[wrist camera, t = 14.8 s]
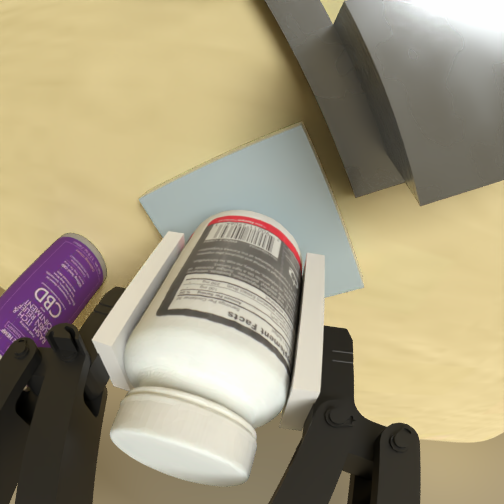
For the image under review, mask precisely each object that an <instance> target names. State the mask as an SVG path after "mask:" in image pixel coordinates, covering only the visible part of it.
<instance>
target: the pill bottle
mask: <svg viewBox="0 0 504 504" xmlns="http://www.w3.org/2000/svg"><path fill="white" fill-rule="evenodd" d="M302 269H303V264H302V256H301V252H300V250H299V247H298V244H297V242H296V241H295V239H294V237H293V236H292V235H291V234H290V233H289V232H288V231H287V230H286V229H285V228H284V227H283V226H282V225H281V224H280V223H278V222H277V221H275V220H274V219H272V218H270V217H268V216H265V215H263V214H260V213H256V212H253V211H247V210H230V211H224V212H220V213H218V214H215V215H213V216H211V217H209V218H208V219H206V220H205V221H204V222H202V223H201V224H200V225H199V226H198V227H197V229H196V230H195V231H194V233H193V234H192V235H191V237H190V238H189V240H188V242H187V243H186V245H185V246H184V248H183V249H182V251H181V253H180V254H179V256H178V257H177V259H176V260H175V262H174V264H173V265H172V267H171V269H170V270H169V272H168V274H167V275H166V277H165V279H164V280H163V282H162V284H161V285H160V287H159V289H158V290H157V292H156V294H155V295H154V297H153V298H152V300H151V302H150V303H149V305H148V307H147V308H146V310H145V311H144V313H143V315H142V316H141V318H140V319H139V321H138V323H137V324H136V326H135V328H134V329H133V331H132V333H131V335H130V337H129V339H128V341H127V344H126V347H125V352H124V367H125V371H126V374H127V376H128V379H129V381H130V382H131V384H132V386H133V387H134V389H132V390H130V391H129V392H128V393H127V394H126V396H125V398H124V399H123V400H122V401H121V403H120V408H119V410H118V413H117V415H116V418H115V420H114V422H113V425H112V427H111V431H110V437H111V439H112V441H113V442H114V444H115V445H116V446H117V447H118V448H120V449H121V450H122V451H123V452H125V453H126V454H128V455H129V456H130V457H132V458H134V459H135V460H137V461H139V462H141V463H142V464H144V465H147V466H149V467H151V468H153V469H155V470H158V471H160V472H162V473H165V474H168V475H170V476H173V477H177V478H179V479H183V480H186V481H190V482H194V483H200V484H206V485H212V486H226V487H228V486H237V485H241V484H243V483H245V482H246V481H247V480H248V478H249V476H250V472H251V468H252V464H253V461H254V456H255V452H256V449H257V444H256V438H257V436H256V432H255V430H254V429H255V428H258V427H260V426H263V425H264V424H266V423H268V422H270V421H271V420H272V419H274V418H275V417H276V416H277V415H278V414H279V413H280V412H281V411H282V409H283V407H284V406H285V403H286V401H287V398H288V393H289V388H290V383H291V375H292V367H293V358H294V349H295V343H296V333H297V325H298V314H299V307H300V298H301V284H302Z"/></svg>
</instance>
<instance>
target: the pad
mask: <svg viewBox="0 0 504 504" xmlns="http://www.w3.org/2000/svg"><path fill="white" fill-rule="evenodd" d="M139 201H140V203H141V204H142V206H143V207H144V209H145V211H146V212H147V214H148V215H149V217H150V219H151V220H152V222H153V223H154V225H155V226H156V228H157V229H158V231H159V233H160V234H161V236H162V237H163V238H164V236H165V235H166V234H167V232H168V231H171V232H178V233H184V239H185V245H186V243H187V242H188V240H189V238H190V237H191V235H192V234H193V233H194V231H195V230H196V229H197V227H198V226H199V225H200V224H201V223H202V222H204V221H205V220H206V219H208V218H209V217H211V216H213V215H215V214H218V213H220V212H224V211H230V210H247V211H253V212H256V213H260V214H263V215H265V216H268V217H270V218H272V219H274V220H275V221H277V222H278V223H280V224H281V225H282V226H283V227H284V228H285V229H286V230H287V231H288V232H289V233H290V234H291V235H292V236H293V237H294V239H295V241H296V242H297V244H298V247H299V250H300V252H301V256H302V264H303V269H302V275H303V270H304V265H305V260H306V255H307V253H313V254H320V255H325V292H324V298H326V297H330V296H333V295H337V294H341V293H345V292H349V291H352V290H356V289H360V288H364V283H363V276H362V273H361V270H360V267H359V264H358V261H357V258H356V255H355V252H354V249H353V246H352V243H351V241H350V238H349V235H348V232H347V229H346V227H345V224H344V221H343V218H342V216H341V213H340V210H339V208H338V205H337V203H336V200H335V197H334V195H333V192H332V190H331V187H330V185H329V182H328V180H327V177H326V175H325V172H324V170H323V167H322V165H321V163H320V160H319V158H318V156H317V153H316V151H315V148H314V146H313V144H312V142H311V139H310V137H309V135H308V133H307V130H306V128H305V126H304V124H303V121H300V122H298V123H295V124H293V125H290V126H288V127H285V128H283V129H280V130H278V131H275V132H273V133H270V134H268V135H265V136H263V137H261V138H258V139H256V140H254V141H251V142H249V143H247V144H244V145H242V146H240V147H237V148H235V149H233V150H231V151H228V152H226V153H224V154H222V155H220V156H217V157H215V158H213V159H211V160H209V161H207V162H205V163H202V164H200V165H198V166H196V167H194V168H192V169H190V170H188V171H186V172H184V173H182V174H180V175H178V176H176V177H174V178H172V179H170V180H168V181H166V182H164V183H162V184H160V185H158V186H156V187H154V188H152V189H150V190H149V191H147V192H146V193H145V194H143V195H142V196H141V197H140V198H139Z"/></svg>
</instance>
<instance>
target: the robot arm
mask: <svg viewBox="0 0 504 504" xmlns="http://www.w3.org/2000/svg"><path fill="white" fill-rule="evenodd" d="M184 246H185V239H184V233H178V232H171V231H168V232H167V234H166V235H165V236H164V238H163V239H162V240H161V242H160V243H159V244H158V246H157V247H156V248H155V250H154V251H153V252H152V254H151V255H150V256H149V258H148V259H147V260H146V262H145V263H144V265H143V266H142V267H141V269H140V270H139V271H138V273H137V274H136V276H135V277H134V278H133V280H132V281H131V283H130V284H129V285H128V287H127V288H126V289H124V288H120V287H115V288H113V289H112V290H110V291H109V292H107V293H106V294H105V295H104V297H103V298H102V299H101V301H100V302H99V305H97V306H96V308H95V309H94V312H92V313H91V315H90V316H89V317H88V319H87V320H86V322H85V323H84V324H83V326H82V327H81V329H80V330H79V331H78V329H77V328H76V327H75V326H74V325H73V324H69V323H60V324H57V325H55V326H53V327H52V328H51V329H49V330H48V332H47V333H46V335H45V337H46V339H47V341H48V343H49V344H50V346H51V348H48V347H37V345H36V343H35V342H34V340H32V339H31V338H28V337H22V338H19V339H17V340H15V341H14V342H13V343H12V344H11V345H10V346H9V348H8V349H7V351H6V352H5V353H4V355H3V356H2V358H1V359H0V504H9V503H10V500H11V498H12V495H13V493H14V491H15V488H16V486H17V483H18V486H17V493H16V500H15V504H92V502H93V490H94V481H95V471H96V463H97V456H98V448H99V441H100V435H101V427H102V422H103V416H104V411H105V405H106V400H107V388H106V386H105V385H106V384H107V382H108V380H109V378H110V380H111V382H112V384H113V386H115V387H118V388H121V389H124V390H126V391H130V390H132V389H133V386H132V384H131V382H130V381H129V379H128V376H127V374H126V371H125V367H124V352H125V347H126V344H127V341H128V339H129V337H130V335H131V333H132V331H133V329H134V328H135V326H136V324H137V323H138V321H139V319H140V318H141V316H142V315H143V313H144V311H145V310H146V308H147V307H148V305H149V303H150V302H151V300H152V298H153V297H154V295H155V294H156V292H157V290H158V289H159V287H160V285H161V284H162V282H163V280H164V279H165V277H166V275H167V274H168V272H169V270H170V269H171V267H172V265H173V264H174V262H175V260H176V259H177V257H178V256H179V254H180V253H181V251H182V249H183V248H184ZM324 292H325V255H320V254H313V253H307V255H306V260H305V265H304V270H303V275H302V284H301V298H300V307H299V314H298V325H297V333H296V343H295V349H294V358H293V367H292V375H291V383H290V388H289V393H288V398H287V401H286V403H285V406H284V407H283V409H282V415H281V421H280V428H285V429H292V430H299V431H301V430H302V428H303V436H302V439H301V441H300V443H299V445H298V446H297V448H296V451H295V453H294V455H293V457H292V460H291V461H290V464H289V465H288V467H287V469H286V471H285V473H284V476H283V477H282V479H281V481H280V483H279V485H278V487H277V489H276V490H275V492H274V494H273V496H272V498H271V500H270V502H269V503H268V504H328V503H329V501H330V499H331V496H332V493H333V491H334V489H335V487H336V484H337V482H338V479H339V477H340V474H341V471H342V470H343V471H345V472H348V473H350V474H351V475H350V485H349V493H348V503H347V504H420V441H419V437H418V434H417V433H416V431H415V430H414V429H413V428H412V427H410V426H409V425H407V424H403V423H394V424H391V425H390V426H388V427H385V426H383V425H380V424H377V423H375V422H372V421H370V420H368V419H366V418H364V417H363V416H362V415H361V414H360V413H359V411H358V410H357V408H356V406H355V403H354V369H353V340H352V338H351V336H350V334H349V332H348V330H347V329H344V328H337V327H330V326H324ZM26 385H27V386H28V387H27V388H26V389H24V388H25V386H26Z"/></svg>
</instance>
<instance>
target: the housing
mask: <svg viewBox="0 0 504 504" xmlns="http://www.w3.org/2000/svg"><path fill="white" fill-rule="evenodd" d="M265 2H266V3H267V5H268V7H269V8H270V10H271V12H272V14H273V15H274V17H275V19H276V21H277V23H278V24H279V26H280V28H281V30H282V32H283V34H284V35H285V37H286V39H287V41H288V43H289V45H290V47H291V49H292V51H293V53H294V55H295V56H296V58H297V60H298V62H299V64H300V66H301V68H302V71H303V73H304V75H305V77H306V79H307V81H308V83H309V85H310V87H311V89H312V92H313V94H314V96H315V98H316V100H317V102H318V105H319V107H320V109H321V111H322V114H323V116H324V118H325V121H326V123H327V125H328V128H329V130H330V132H331V135H332V137H333V140H334V142H335V145H336V147H337V150H338V152H339V155H340V157H341V160H342V162H343V165H344V168H345V170H346V173H347V176H348V178H349V181H350V184H351V186H352V189H353V192H354V195H355V198H357V197H360V196H363V195H366V194H369V193H372V192H375V191H379V190H382V189H385V188H388V187H391V186H394V185H398V184H401V183H404V182H406V184H407V185H408V187H409V189H410V190H411V192H412V193H413V195H414V197H415V198H416V200H417V201H418V203H419V205H420V206H422V205H426V204H429V203H432V202H435V201H438V200H442V199H445V198H448V197H451V196H454V195H457V194H461V193H464V192H467V191H470V190H473V189H477V188H480V187H483V186H486V185H489V184H492V183H496V182H499V181H502V180H504V0H346V1H344V3H343V5H342V7H341V9H340V11H339V13H338V15H337V18H336V20H335V22H334V24H332V22H331V20H330V18H329V16H328V14H327V12H326V11H325V9H324V7H323V5H322V3H321V2H320V0H265Z"/></svg>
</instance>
